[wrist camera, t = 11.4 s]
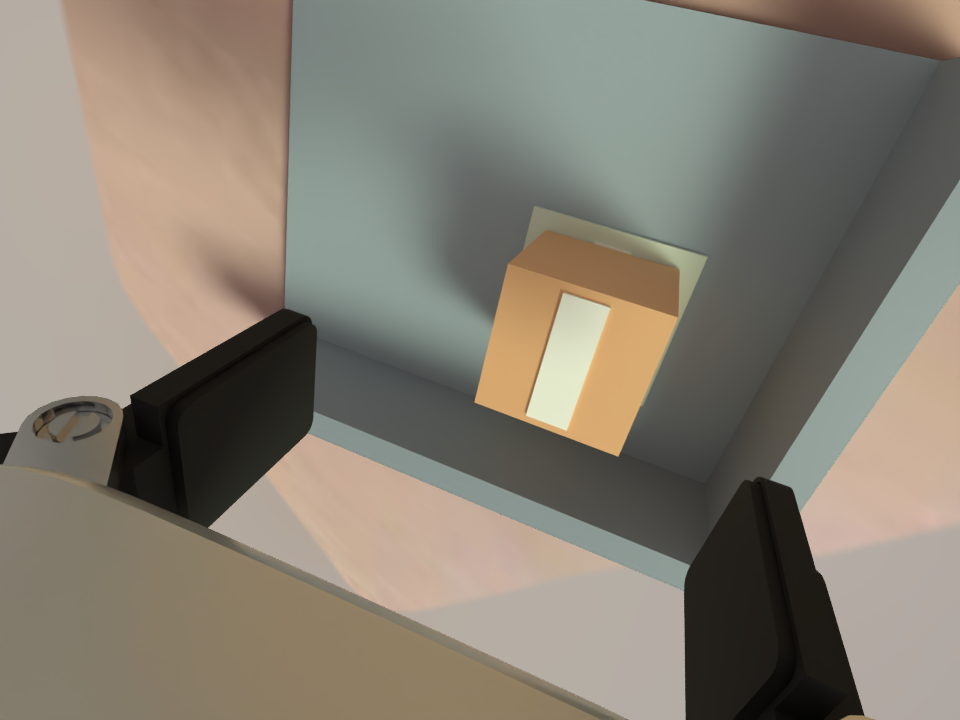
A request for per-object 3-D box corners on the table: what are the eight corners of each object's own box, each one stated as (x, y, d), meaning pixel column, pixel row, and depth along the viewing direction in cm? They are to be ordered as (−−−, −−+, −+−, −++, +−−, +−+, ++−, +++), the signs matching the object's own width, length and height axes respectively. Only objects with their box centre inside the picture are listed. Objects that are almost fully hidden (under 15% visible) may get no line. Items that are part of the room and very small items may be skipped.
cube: (545, 229, 20) (507, 264, 15) (679, 269, 19) (678, 318, 14) (514, 345, 22) (473, 403, 18) (631, 386, 21) (618, 458, 17)
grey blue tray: (291, 341, 27) (208, 391, 23) (305, -67, 19) (179, -124, 14) (721, 506, 23) (731, 610, 18) (979, 71, 15) (1118, 55, 10)
